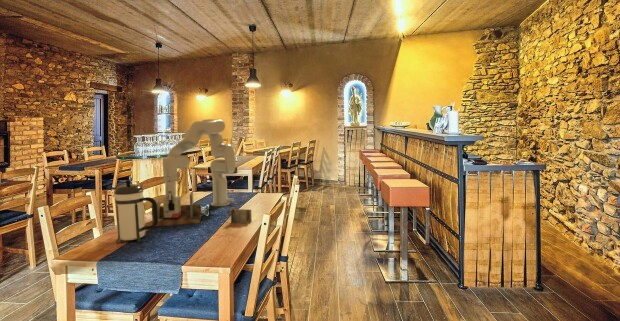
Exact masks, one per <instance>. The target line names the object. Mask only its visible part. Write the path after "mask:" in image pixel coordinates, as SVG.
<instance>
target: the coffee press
mask: <svg viewBox="0 0 620 321" xmlns="http://www.w3.org/2000/svg"><path fill="white" fill-rule="evenodd" d="M111 197H112V198H113V197H114V204H115V208H116V209H115V212H116V214H115V215H116V226H117V240H115V243H116V244H117V243H120V244H121V243H122V242H123V241H134V240H136V243H137V242H138V243H137V244H140V243H142V240H141V238H143V237H145V236H146V237H147V236H148V233H147V231H146V230H153V229H154V228H156V227H157V226H156V225H157V223H158V211H157V204H156V201H155V200H156V199H154V198H153V197H150V196H149V197H148V196H146V197H144V189H143V187H142V186H141V184H135V183H132V181H131V180H130V179H126V180H125V184H123V185H119V186H117V187H116V188H115V190H114V191H113V194H112V195H111ZM144 202H150V203H151V206H152V205H153V214H154V223H153V222H152V225H146V224H145V221H146V220H145V209H144V208H145V207H144V206H145V205H144Z"/></svg>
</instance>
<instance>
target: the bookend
mask: <svg viewBox="0 0 620 321" xmlns="http://www.w3.org/2000/svg"><path fill="white" fill-rule="evenodd" d="M189 204H190V214H191V219H197V218H200V217H201V218H202V212H201V213H199V214H194V204H195V203H194V192H193V191H190V194H189Z"/></svg>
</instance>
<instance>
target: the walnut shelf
mask: <svg viewBox="0 0 620 321" xmlns="http://www.w3.org/2000/svg"><path fill="white" fill-rule="evenodd" d="M154 200H155V201H156V204H157V211H158V223H157V225H156V227H161V226H162V227H163V226H175V225H177V226H178V225H188V224H189V225H191V224H200V223H201V219H202V216H201V217H200V218H197V219H191V214H190V203H189V204H181V216H180V217H178V218H164V209H163V205H162V206H161V199H160V198H156V199H154ZM199 213H201V214H202V204H201V203H194V214H199ZM151 218H152V221H151V222H152V224H153V223H154V214H153V205H152V204H151Z"/></svg>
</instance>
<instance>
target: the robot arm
mask: <svg viewBox="0 0 620 321" xmlns="http://www.w3.org/2000/svg"><path fill="white" fill-rule="evenodd" d="M225 123H226V122H224V120H222V119H221V118H220V119H219V118H218V119H215V118H214V119H212V118H211V119H209V118H207V119H202V120H198V121H194V122H192V124H191V125H190V127H189V129H188V131H187V132H186V134H185V136H184V138H183V139H182V140H181V141H179V142H178V143H176V144H175V145H174V146H173V147H172V148H171V149H170V151H169V152H168V154H167V156H165V157H163V158H162V176H163V182H164V183H165V184H164V186H165V187H164V188H165V190H164V191H165V194H164V195H165V196H164V197H166V199H167V198H168V210H169V211H173V210H175V208H174V198H175V197H176V196H177V182H178V180H179V178H178V169H186V168H188V167H189V166H190V163H191V160H190V158H189V157H188V156H186V155H182V154H184V153H185V152H187V151H189V150H193V149H194V148H196V147H197V146H198V144H199V141H200V140H201V138H202V136H203V135H204V136H208V139H209V144H210V153H211V156H212V157H214V158H215V159H213V160H211V162H210V166H209V167H210V172H211V177H212V199H213V200H212V201H213V202H211V203H210V204H211V206H212V207H225V206H229V205H230V204H231V202H235V199H234V198H231V197H230V198H229V197H228V181H227V180H228V179H227V177H226V174H227V175H230V174H234V172H235V171H236V157H235V156H236V154H235V149H234V147H233V145H231V144H230V143H224V138H223V135H222V133H223V132H224V131H225V128H226V124H225ZM216 158H217V159H216ZM171 197H173V198H171Z"/></svg>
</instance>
